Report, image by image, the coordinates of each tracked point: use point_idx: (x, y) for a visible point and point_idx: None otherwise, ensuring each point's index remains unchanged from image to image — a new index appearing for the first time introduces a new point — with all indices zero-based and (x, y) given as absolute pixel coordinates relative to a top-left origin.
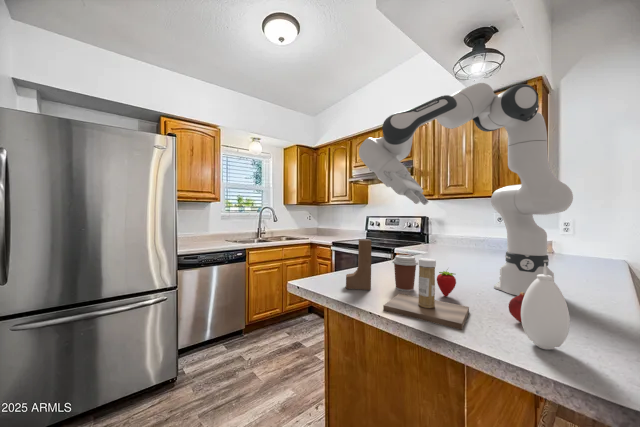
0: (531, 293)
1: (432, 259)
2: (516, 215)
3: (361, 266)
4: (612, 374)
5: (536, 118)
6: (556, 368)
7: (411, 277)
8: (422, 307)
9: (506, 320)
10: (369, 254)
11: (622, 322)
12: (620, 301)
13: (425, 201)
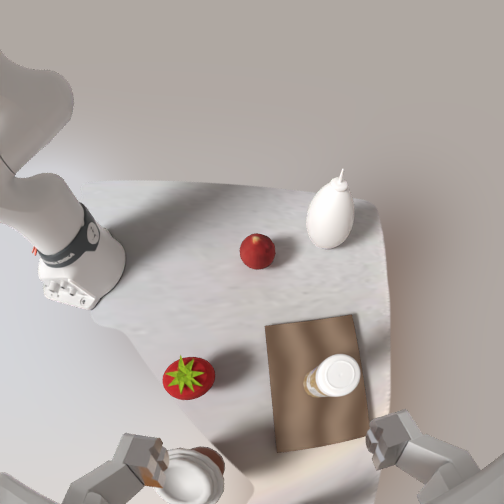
0: (351, 210)
1: (334, 362)
2: (13, 186)
3: None
4: None
5: None
6: (361, 232)
7: (207, 453)
8: None
9: (261, 279)
10: None
11: (174, 187)
12: (93, 188)
13: (160, 452)
